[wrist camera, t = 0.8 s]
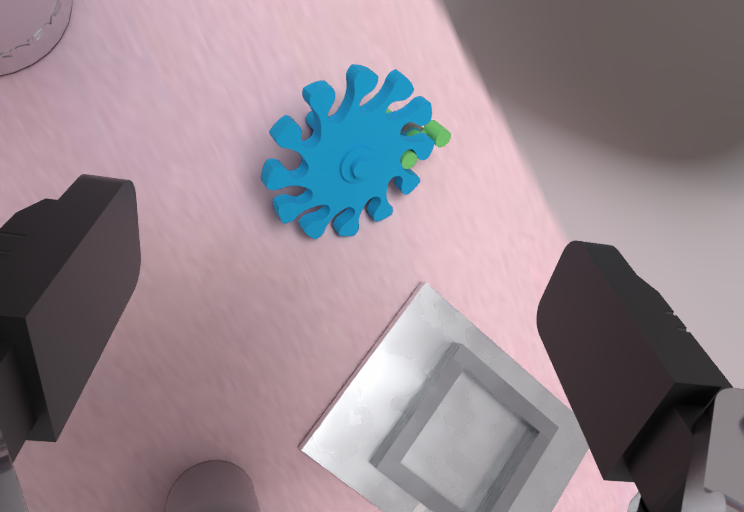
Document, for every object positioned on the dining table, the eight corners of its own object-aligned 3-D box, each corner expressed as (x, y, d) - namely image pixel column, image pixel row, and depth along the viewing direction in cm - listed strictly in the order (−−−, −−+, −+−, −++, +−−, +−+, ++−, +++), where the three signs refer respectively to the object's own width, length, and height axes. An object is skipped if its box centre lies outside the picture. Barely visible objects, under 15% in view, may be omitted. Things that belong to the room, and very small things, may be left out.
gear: (271, 264, 29) (271, 87, 22) (235, 203, 32) (225, 36, 26) (437, 220, 33) (476, 64, 27) (388, 172, 37) (413, 24, 31)
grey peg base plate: (289, 458, 30) (296, 470, 28) (420, 282, 33) (434, 282, 31) (486, 603, 33) (504, 622, 31) (589, 430, 36) (610, 438, 34)
